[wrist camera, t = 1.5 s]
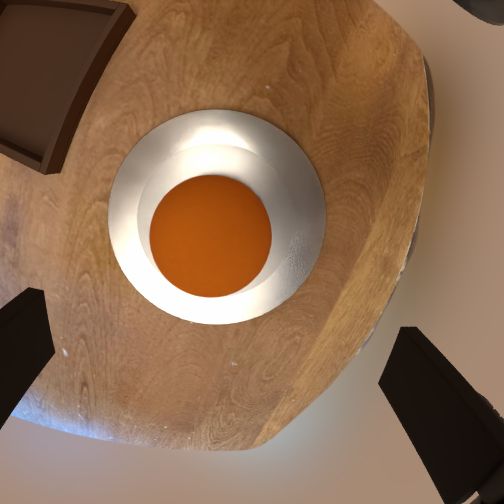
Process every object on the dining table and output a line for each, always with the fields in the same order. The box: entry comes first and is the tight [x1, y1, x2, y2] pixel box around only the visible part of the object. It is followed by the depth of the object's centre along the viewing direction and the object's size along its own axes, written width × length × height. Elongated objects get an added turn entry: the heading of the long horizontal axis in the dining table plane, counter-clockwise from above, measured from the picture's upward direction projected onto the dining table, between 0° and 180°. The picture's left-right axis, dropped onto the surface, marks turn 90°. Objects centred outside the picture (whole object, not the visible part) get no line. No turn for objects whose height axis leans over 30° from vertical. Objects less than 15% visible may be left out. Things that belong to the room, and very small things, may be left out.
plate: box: [108, 109, 326, 325], centre depth 24 cm, size 18×18×1 cm
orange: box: [149, 175, 272, 298], centre depth 20 cm, size 8×8×8 cm
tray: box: [0, 0, 136, 175], centre depth 18 cm, size 20×16×3 cm
